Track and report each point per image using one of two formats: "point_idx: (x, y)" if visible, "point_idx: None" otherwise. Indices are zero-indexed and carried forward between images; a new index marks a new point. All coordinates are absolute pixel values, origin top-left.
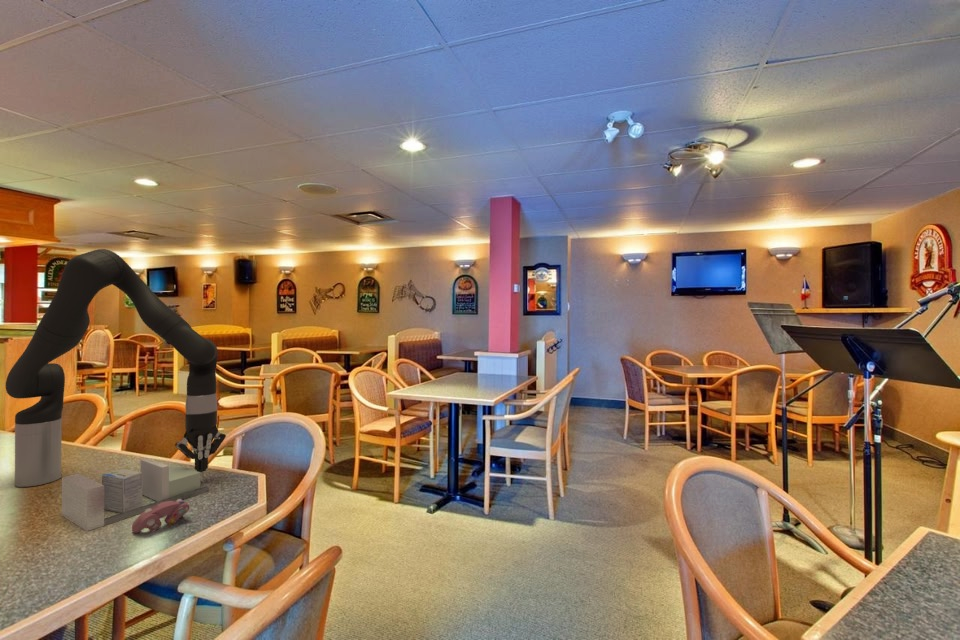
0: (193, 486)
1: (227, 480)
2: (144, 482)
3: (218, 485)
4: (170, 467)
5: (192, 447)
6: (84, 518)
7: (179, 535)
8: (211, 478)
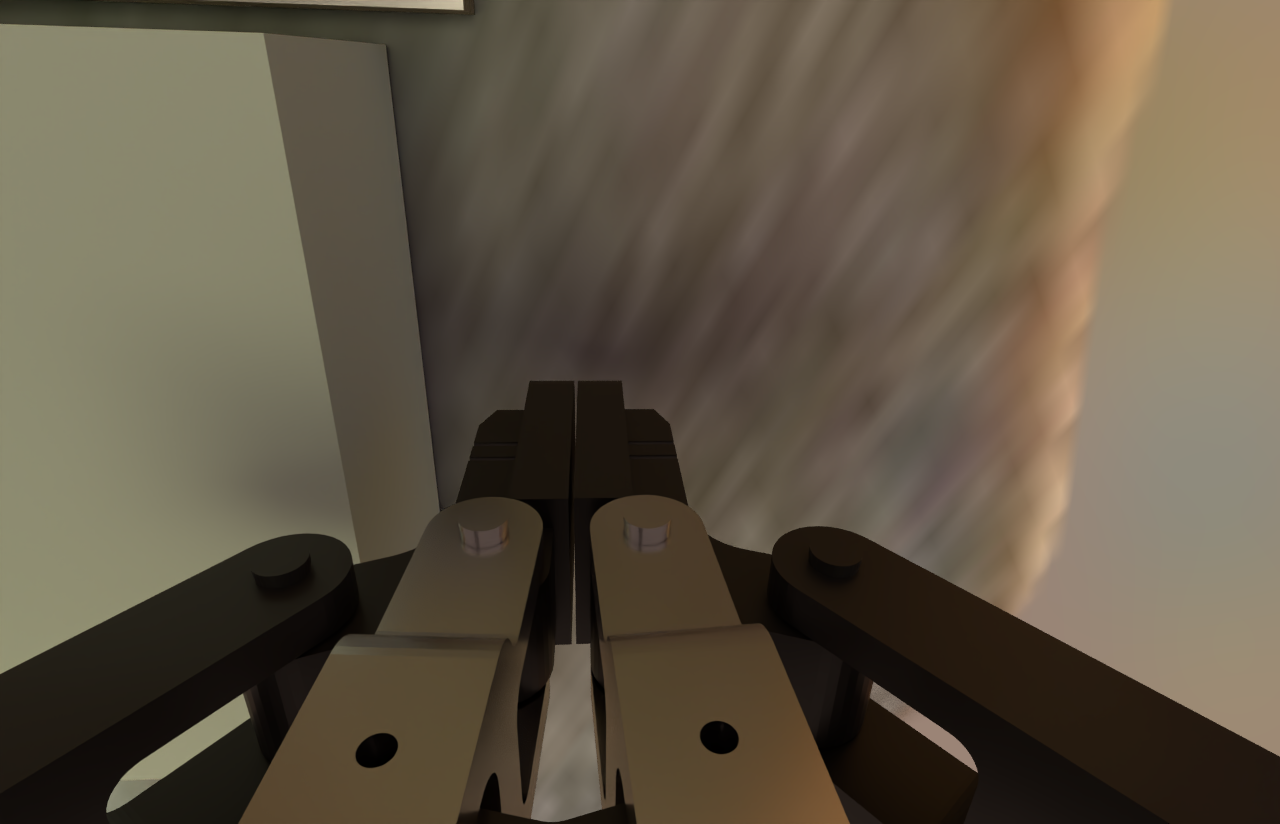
0: None
1: (795, 503)
2: None
3: None
4: (60, 80)
5: (314, 731)
6: None
7: None
8: (757, 279)
